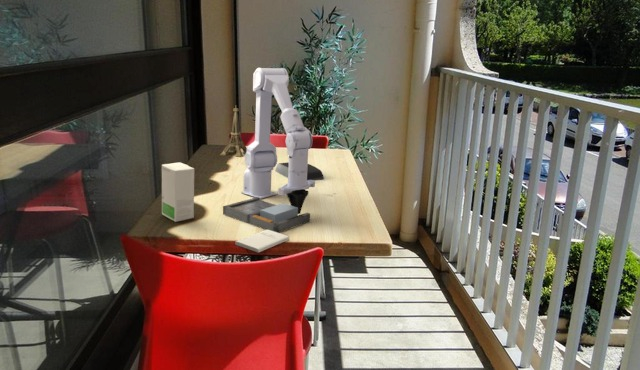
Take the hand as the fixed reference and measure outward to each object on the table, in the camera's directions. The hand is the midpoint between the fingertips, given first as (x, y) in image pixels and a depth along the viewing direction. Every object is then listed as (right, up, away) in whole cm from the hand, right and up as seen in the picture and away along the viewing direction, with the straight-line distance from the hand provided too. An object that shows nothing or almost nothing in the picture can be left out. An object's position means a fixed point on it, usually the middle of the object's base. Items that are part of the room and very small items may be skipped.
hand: (296, 213), depth 165 cm
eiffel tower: (-31, +23, +81) cm, 90 cm away
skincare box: (-35, -1, -5) cm, 35 cm away
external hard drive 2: (-1, +12, +50) cm, 51 cm away
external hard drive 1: (-8, -7, -21) cm, 24 cm away
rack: (-9, -1, -2) cm, 9 cm away
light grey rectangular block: (-5, -2, -4) cm, 7 cm away
